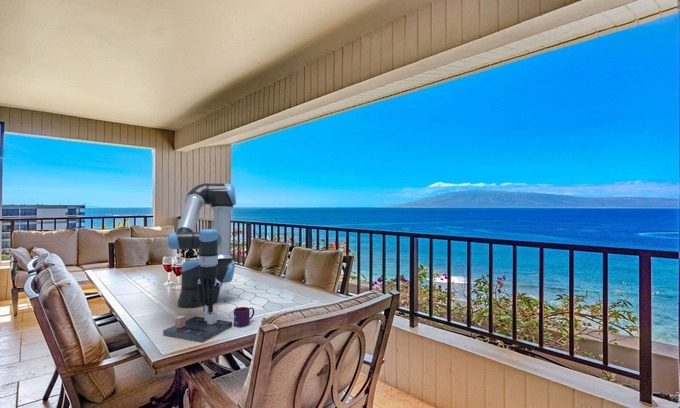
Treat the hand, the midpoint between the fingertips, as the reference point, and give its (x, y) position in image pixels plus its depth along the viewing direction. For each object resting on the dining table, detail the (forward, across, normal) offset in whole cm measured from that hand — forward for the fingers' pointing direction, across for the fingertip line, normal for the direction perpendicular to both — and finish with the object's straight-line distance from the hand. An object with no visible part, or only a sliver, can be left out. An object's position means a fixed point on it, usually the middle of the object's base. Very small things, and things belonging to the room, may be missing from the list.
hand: (208, 319), depth 145 cm
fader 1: (+1, -7, -8) cm, 11 cm away
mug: (+4, +12, +10) cm, 16 cm away
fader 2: (+1, +2, 0) cm, 2 cm away
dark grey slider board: (+4, -1, -4) cm, 5 cm away
